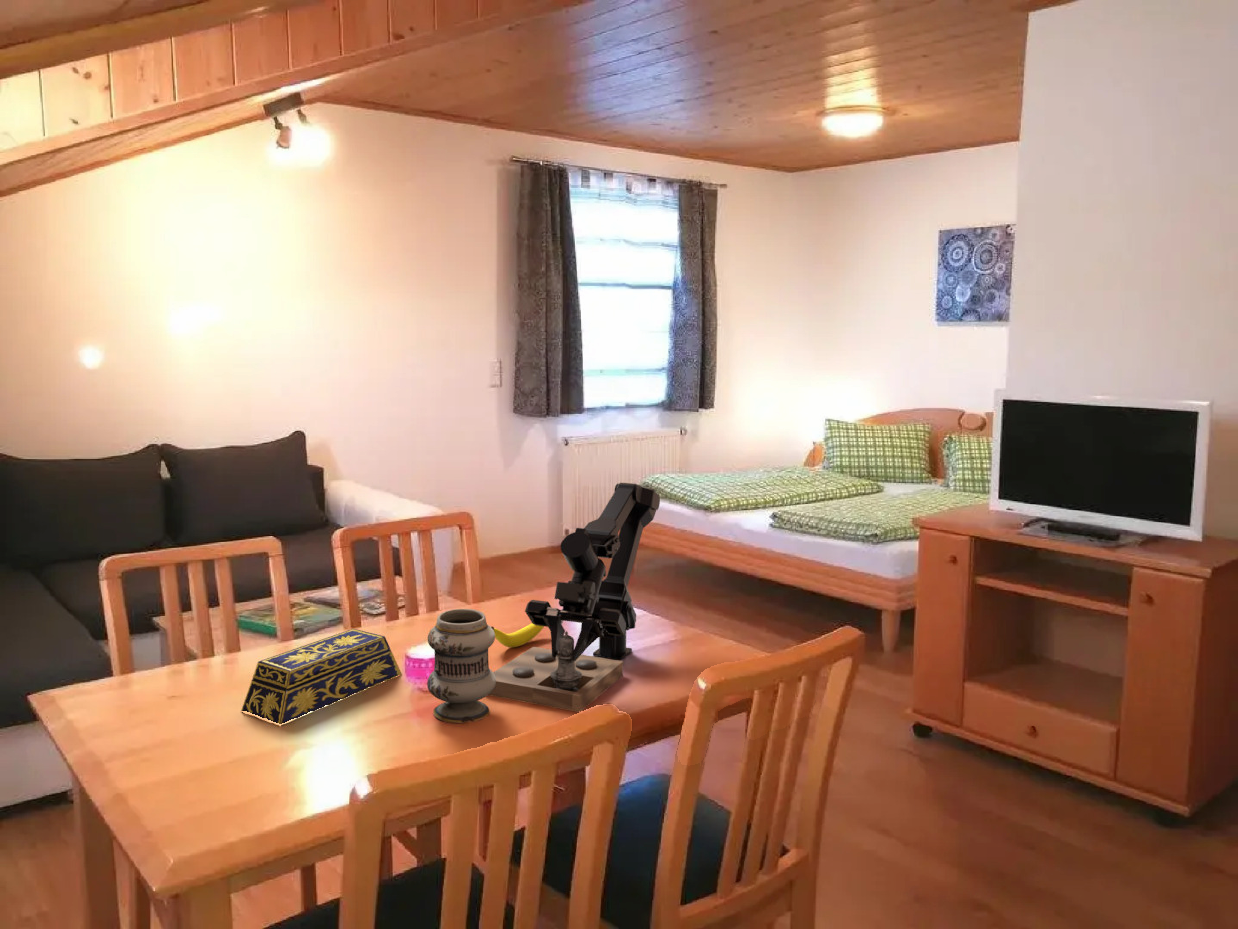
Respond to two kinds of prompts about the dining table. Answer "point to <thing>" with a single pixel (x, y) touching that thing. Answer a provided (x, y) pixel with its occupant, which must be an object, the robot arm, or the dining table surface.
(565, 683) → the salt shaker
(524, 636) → the banana
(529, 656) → the brown peg board
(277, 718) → the decorative box
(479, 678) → the apothecary jar
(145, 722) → the dining table surface
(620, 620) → the robot arm
